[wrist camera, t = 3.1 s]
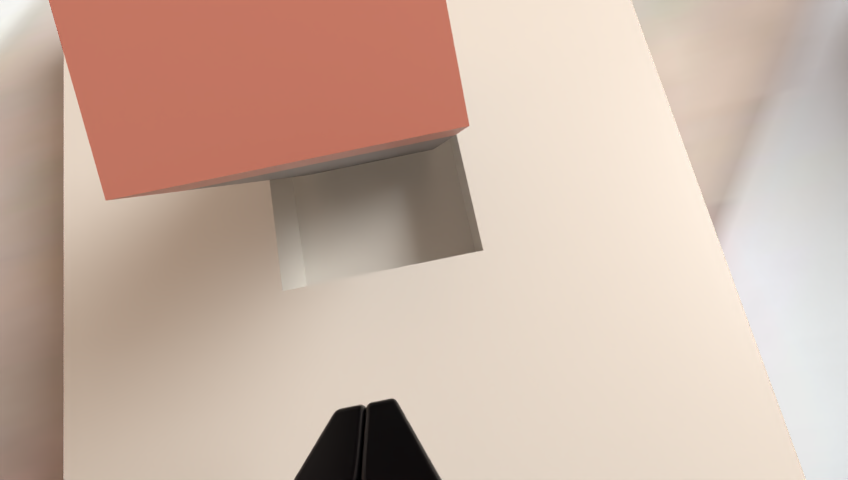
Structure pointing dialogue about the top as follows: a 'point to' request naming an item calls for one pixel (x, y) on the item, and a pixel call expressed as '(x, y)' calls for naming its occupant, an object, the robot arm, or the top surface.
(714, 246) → the box
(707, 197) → the top surface
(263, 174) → the lever
